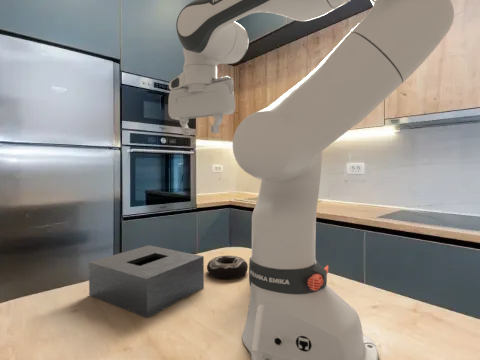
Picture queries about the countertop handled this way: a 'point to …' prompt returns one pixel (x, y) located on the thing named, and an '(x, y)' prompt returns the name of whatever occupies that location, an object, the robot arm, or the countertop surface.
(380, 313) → the countertop surface
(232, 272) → the donut
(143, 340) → the countertop surface
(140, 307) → the post box
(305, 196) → the robot arm
